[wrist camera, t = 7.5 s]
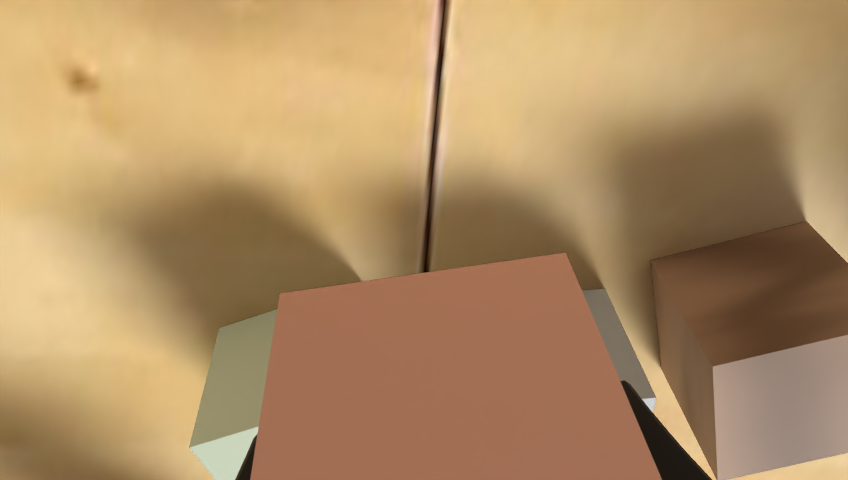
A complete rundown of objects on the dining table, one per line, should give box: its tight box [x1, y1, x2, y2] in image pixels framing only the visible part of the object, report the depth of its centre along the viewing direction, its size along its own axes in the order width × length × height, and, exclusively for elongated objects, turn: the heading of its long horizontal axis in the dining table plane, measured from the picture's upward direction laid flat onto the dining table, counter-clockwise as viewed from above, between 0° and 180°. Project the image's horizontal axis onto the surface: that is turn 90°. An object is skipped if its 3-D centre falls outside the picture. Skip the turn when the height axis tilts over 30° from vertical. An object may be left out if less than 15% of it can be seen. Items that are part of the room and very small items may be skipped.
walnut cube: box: [650, 221, 848, 480], centre depth 22 cm, size 5×5×5 cm
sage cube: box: [189, 309, 277, 480], centre depth 22 cm, size 5×5×5 cm
